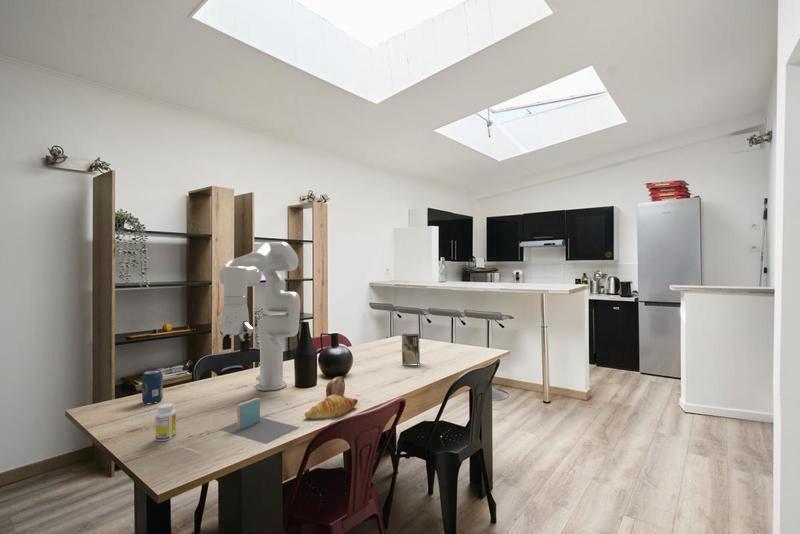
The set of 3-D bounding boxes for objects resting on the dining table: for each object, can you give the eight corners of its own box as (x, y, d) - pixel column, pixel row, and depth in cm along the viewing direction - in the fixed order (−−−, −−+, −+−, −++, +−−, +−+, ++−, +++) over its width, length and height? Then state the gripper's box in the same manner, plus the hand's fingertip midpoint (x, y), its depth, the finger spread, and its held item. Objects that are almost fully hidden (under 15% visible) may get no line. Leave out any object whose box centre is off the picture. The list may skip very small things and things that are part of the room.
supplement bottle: (172, 433, 130) (171, 401, 130) (179, 437, 126) (178, 404, 126) (152, 438, 125) (152, 405, 125) (159, 443, 122) (159, 409, 122)
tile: (237, 429, 132) (237, 404, 132) (257, 421, 139) (257, 397, 138) (240, 430, 131) (240, 405, 131) (260, 421, 138) (260, 398, 138)
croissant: (309, 433, 137) (313, 415, 134) (297, 412, 144) (301, 395, 141) (360, 416, 151) (366, 400, 148) (347, 398, 158) (352, 382, 155)
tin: (332, 406, 153) (332, 384, 153) (324, 406, 154) (324, 384, 154) (345, 394, 168) (345, 374, 168) (338, 394, 169) (338, 373, 169)
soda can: (139, 402, 160) (139, 371, 160) (159, 398, 165) (159, 368, 165) (145, 406, 155) (145, 375, 155) (165, 401, 160) (165, 371, 160)
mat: (218, 430, 132) (218, 429, 132) (254, 416, 144) (254, 415, 144) (266, 444, 121) (266, 443, 121) (299, 428, 133) (299, 427, 133)
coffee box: (420, 363, 221) (420, 333, 221) (418, 365, 215) (418, 335, 215) (403, 362, 223) (403, 333, 223) (401, 365, 216) (401, 335, 216)
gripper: (210, 301, 143) (210, 350, 143) (242, 302, 134) (242, 354, 133) (229, 300, 149) (229, 347, 149) (261, 301, 140) (261, 351, 140)
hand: (235, 350), depth 141 cm, fingers open, 9 cm apart
